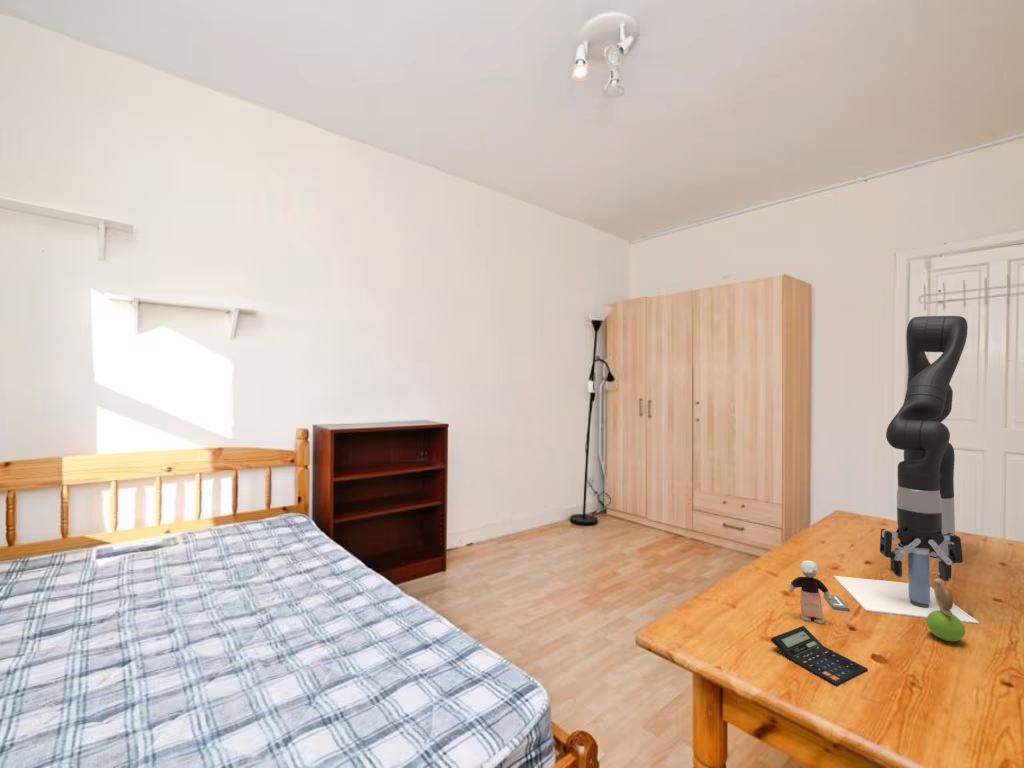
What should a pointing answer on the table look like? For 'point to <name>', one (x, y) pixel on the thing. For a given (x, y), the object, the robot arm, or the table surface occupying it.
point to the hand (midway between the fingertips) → (920, 577)
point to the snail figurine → (944, 615)
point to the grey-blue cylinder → (919, 577)
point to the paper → (893, 598)
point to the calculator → (816, 656)
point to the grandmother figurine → (810, 592)
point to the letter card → (837, 603)
